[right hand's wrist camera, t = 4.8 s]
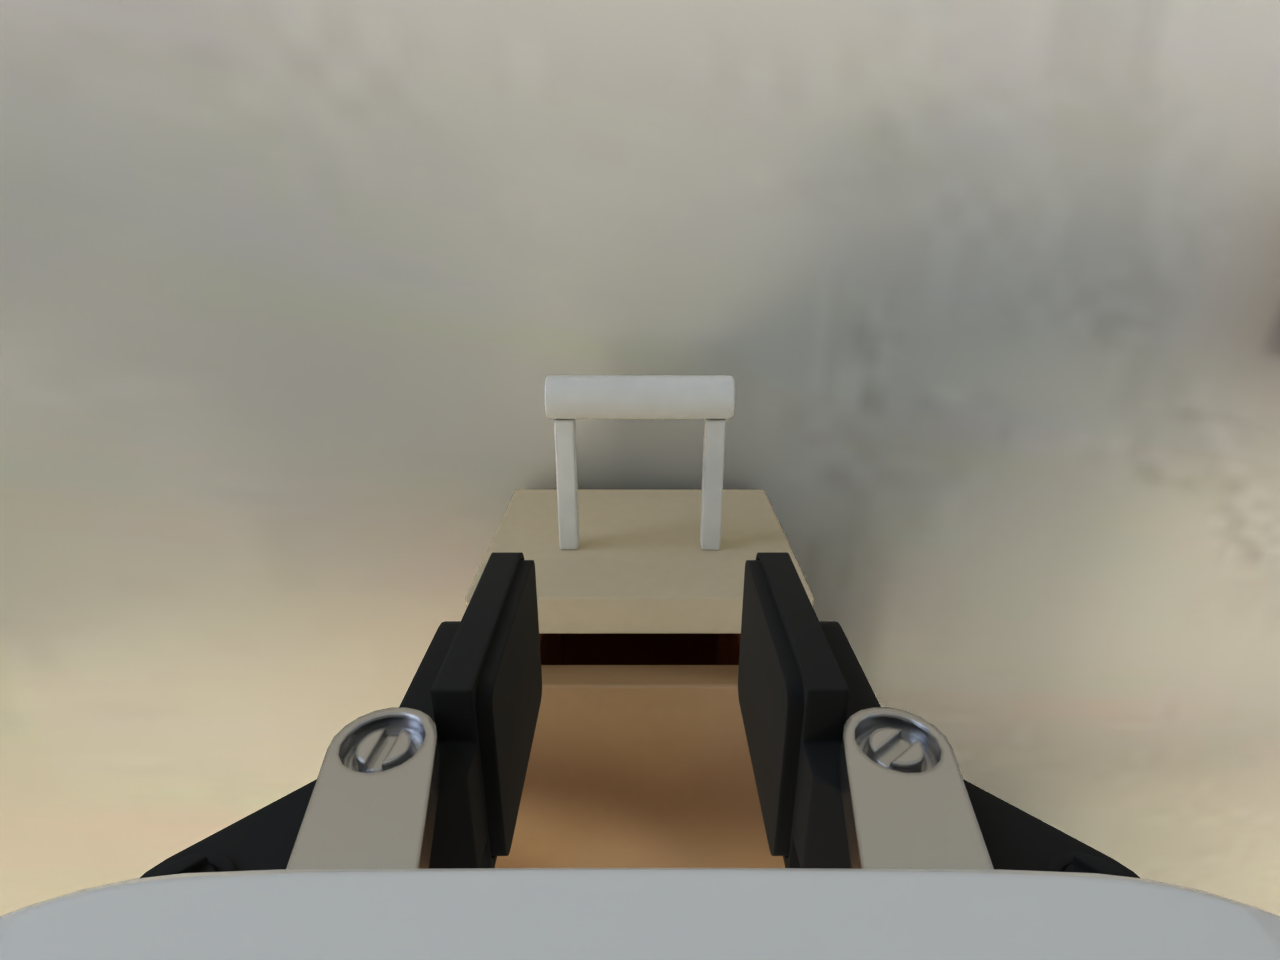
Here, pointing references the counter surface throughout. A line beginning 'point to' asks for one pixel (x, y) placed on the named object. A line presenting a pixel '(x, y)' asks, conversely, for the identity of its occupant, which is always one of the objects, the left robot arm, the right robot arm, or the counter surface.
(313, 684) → the counter surface
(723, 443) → the drawer
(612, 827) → the cabinet
